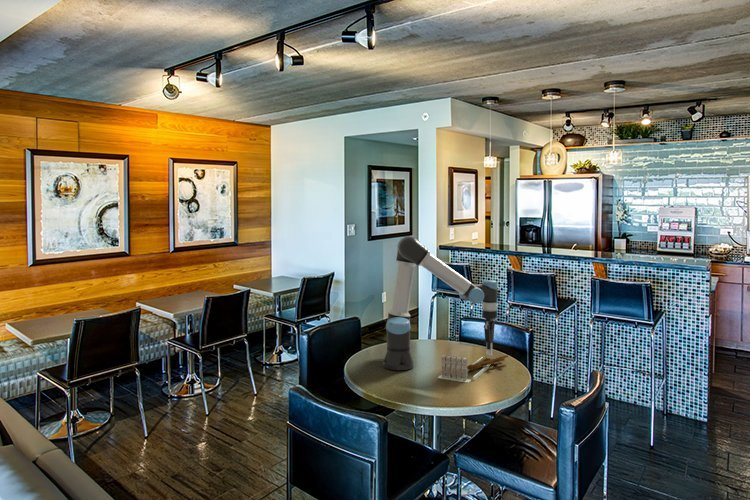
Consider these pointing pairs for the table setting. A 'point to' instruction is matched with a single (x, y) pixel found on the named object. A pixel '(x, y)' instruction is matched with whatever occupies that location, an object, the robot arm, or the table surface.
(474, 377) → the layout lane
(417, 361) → the table surface
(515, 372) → the table surface
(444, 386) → the table surface
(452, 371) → the fixed fence segment
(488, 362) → the brown branch
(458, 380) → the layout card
